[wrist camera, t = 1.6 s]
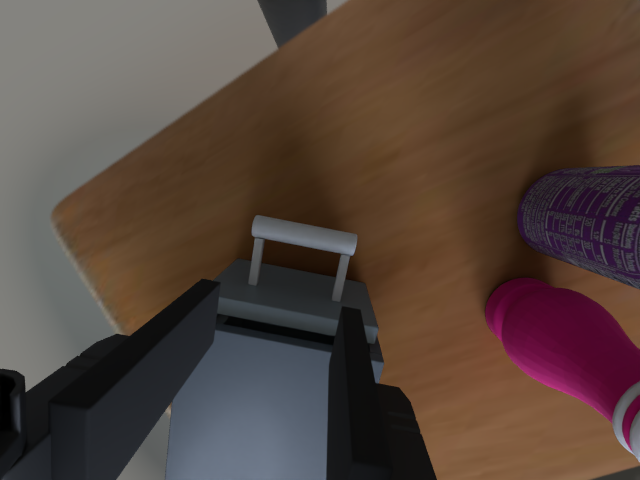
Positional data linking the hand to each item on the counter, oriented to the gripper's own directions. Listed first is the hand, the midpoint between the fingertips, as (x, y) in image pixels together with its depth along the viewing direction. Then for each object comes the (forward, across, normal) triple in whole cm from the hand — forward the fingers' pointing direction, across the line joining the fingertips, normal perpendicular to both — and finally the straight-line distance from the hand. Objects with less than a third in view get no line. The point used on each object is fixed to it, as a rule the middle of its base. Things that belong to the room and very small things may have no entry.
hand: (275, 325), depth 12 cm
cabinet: (+15, 0, -11) cm, 19 cm away
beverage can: (+15, +20, +7) cm, 26 cm away
